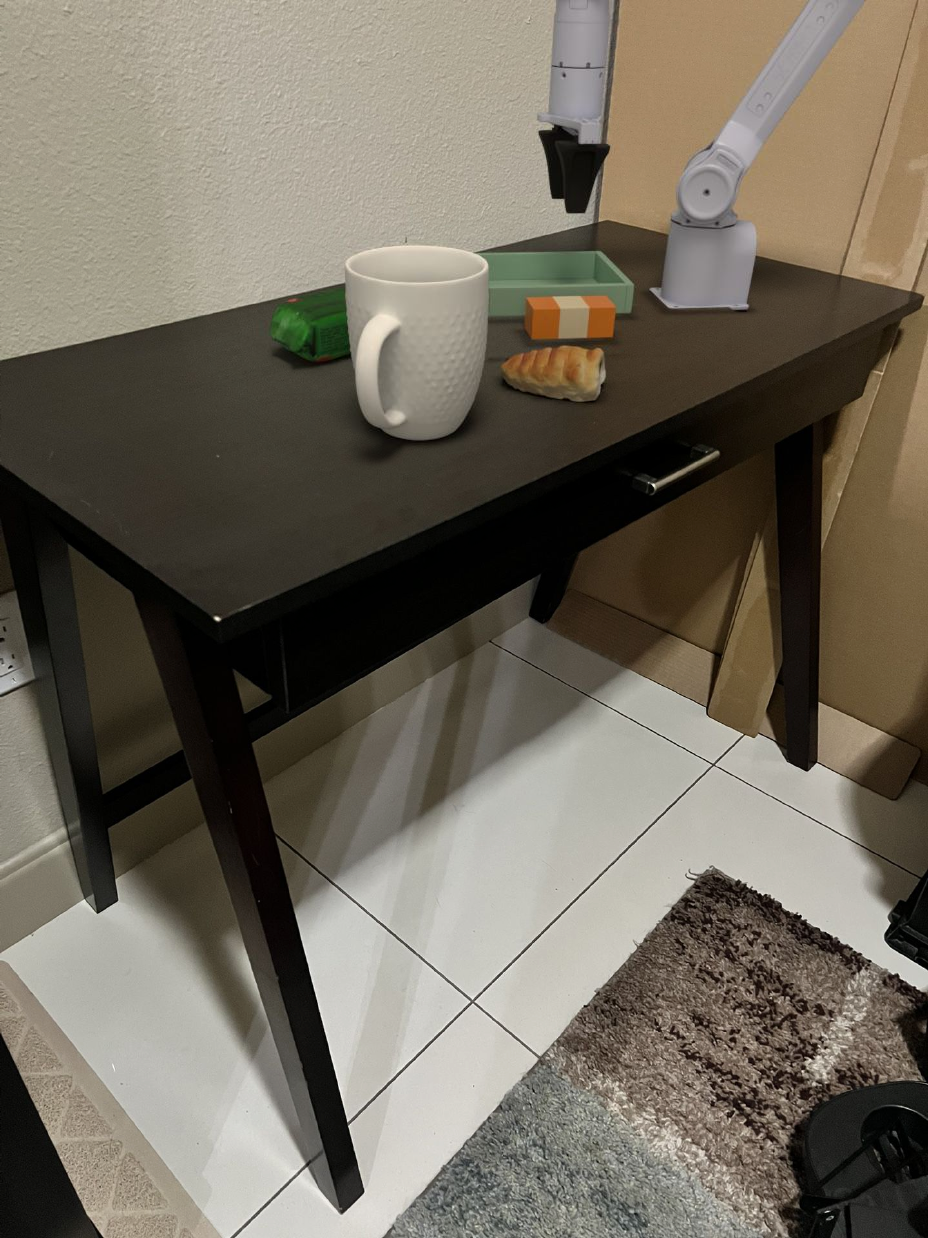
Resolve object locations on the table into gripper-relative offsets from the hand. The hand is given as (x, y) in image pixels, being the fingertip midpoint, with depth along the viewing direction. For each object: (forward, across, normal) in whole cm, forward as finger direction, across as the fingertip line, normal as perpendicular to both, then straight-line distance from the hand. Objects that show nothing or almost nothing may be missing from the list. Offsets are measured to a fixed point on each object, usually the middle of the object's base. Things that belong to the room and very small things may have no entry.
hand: (567, 205), depth 105 cm
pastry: (+10, +31, -7) cm, 33 cm away
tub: (+9, +4, -3) cm, 11 cm away
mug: (+10, +39, -21) cm, 45 cm away
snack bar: (+9, +17, -3) cm, 20 cm away
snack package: (+10, +18, -26) cm, 33 cm away
